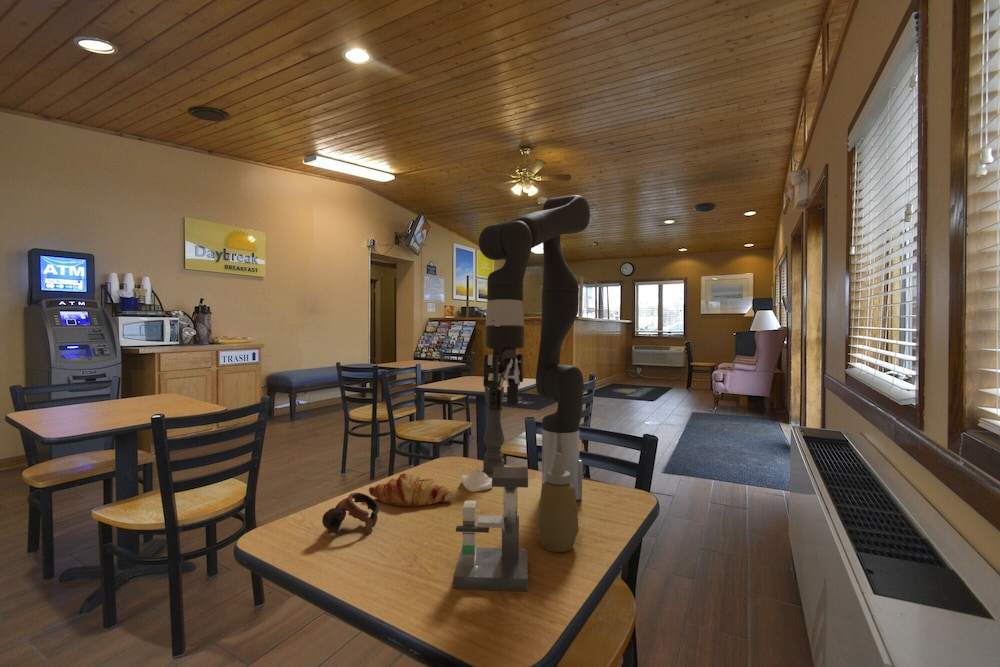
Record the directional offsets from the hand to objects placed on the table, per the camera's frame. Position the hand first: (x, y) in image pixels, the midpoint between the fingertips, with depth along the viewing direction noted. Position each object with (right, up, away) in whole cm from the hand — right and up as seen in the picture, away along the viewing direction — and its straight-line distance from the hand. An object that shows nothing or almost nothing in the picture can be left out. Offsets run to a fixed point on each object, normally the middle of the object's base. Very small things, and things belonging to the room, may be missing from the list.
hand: (504, 407), depth 90 cm
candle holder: (-3, -26, +46) cm, 53 cm away
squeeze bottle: (+10, -27, 0) cm, 29 cm away
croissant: (-22, -27, +23) cm, 42 cm away
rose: (-7, -27, +34) cm, 44 cm away
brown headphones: (-32, -27, +6) cm, 43 cm away
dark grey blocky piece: (0, -20, -10) cm, 22 cm away
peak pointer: (-6, -19, -12) cm, 23 cm away
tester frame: (-2, -27, -10) cm, 29 cm away
